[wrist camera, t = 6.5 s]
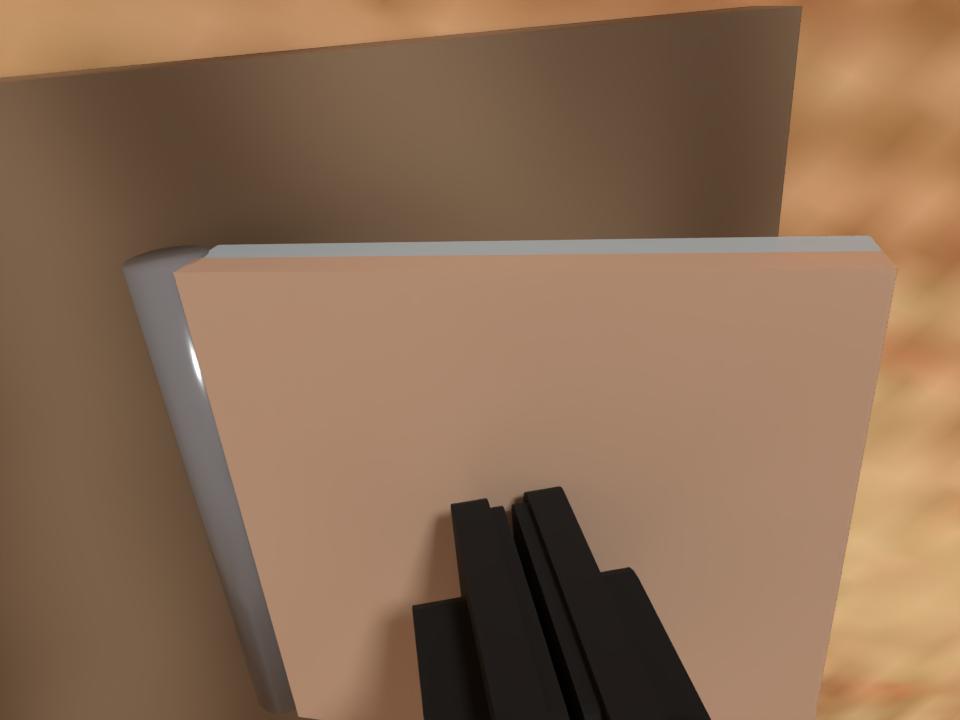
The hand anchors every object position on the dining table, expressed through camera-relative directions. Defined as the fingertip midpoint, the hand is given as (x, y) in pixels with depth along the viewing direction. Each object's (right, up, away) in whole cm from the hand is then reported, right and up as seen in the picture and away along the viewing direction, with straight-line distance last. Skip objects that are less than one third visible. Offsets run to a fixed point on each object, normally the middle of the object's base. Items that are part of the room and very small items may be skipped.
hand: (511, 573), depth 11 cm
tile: (0, 0, 0) cm, 1 cm away
